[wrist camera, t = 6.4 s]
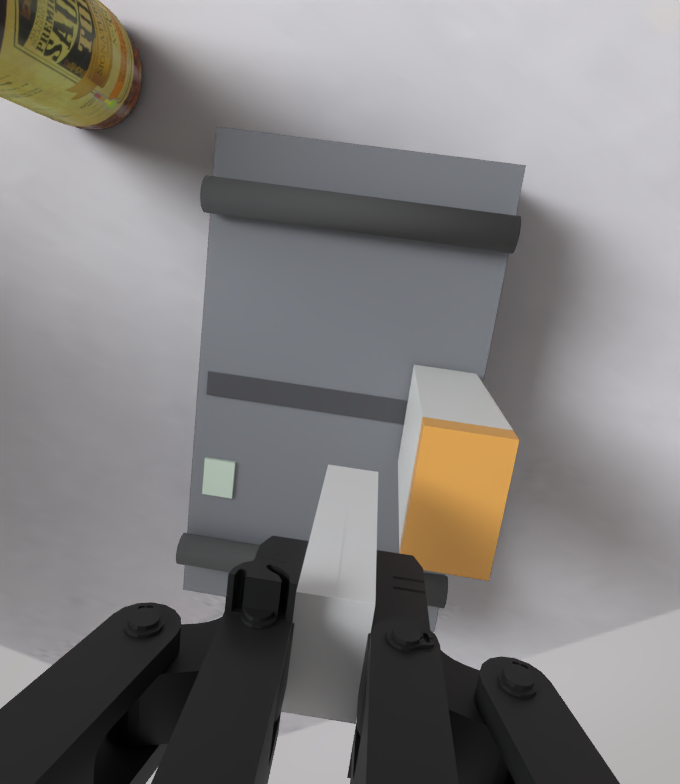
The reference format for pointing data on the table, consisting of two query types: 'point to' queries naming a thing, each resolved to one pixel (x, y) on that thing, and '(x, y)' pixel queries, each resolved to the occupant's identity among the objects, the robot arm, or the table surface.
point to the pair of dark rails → (351, 217)
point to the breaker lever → (453, 473)
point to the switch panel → (328, 334)
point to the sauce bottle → (68, 61)
